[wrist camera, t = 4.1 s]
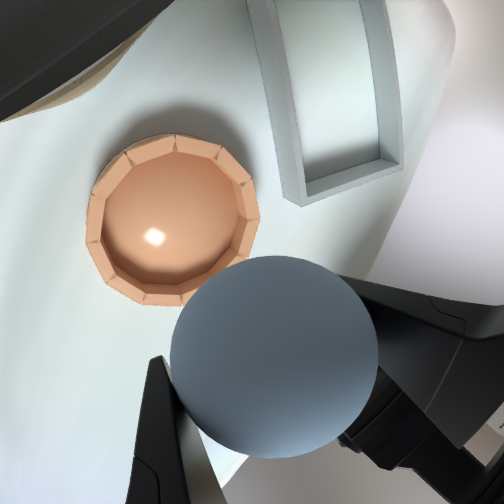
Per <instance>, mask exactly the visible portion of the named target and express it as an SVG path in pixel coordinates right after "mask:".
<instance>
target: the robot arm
mask: <svg viewBox="0 0 504 504" xmlns="http://www.w3.org/2000/svg"><path fill="white" fill-rule="evenodd" d="M336 275H337V274H336ZM337 276H339V277H340V278H341V279H342V280H343V281H345V282H346V283H347V284H348V285H349V286H350V287H351V288H352V289H353V290H354V291H355V293H356V294H357V295H358V296H359V298H360V299H361V301H362V302H363V304H364V306H365V307H366V309H367V311H368V313H369V315H370V317H371V320H372V322H373V325H374V328H375V332H376V337H377V342H378V368H377V375H376V380H375V383H374V386H373V389H372V392H371V395H370V397H369V399H368V401H367V403H366V404H365V406H364V408H363V410H362V411H361V413H360V414H359V416H358V417H357V418H356V419H355V420H354V421H353V423H352V424H351V425H350V426H349V427H348V428H347V429H346V430H345V431H344V432H343V433H342V434H340V435H339V436H338V437H336V438H337V440H338V443H339V444H340V445H341V446H342V447H348V448H350V449H351V450H353V451H354V452H356V453H361V452H363V453H364V454H366V455H367V456H368V457H369V458H370V459H371V460H372V461H373V462H374V463H375V464H376V465H377V466H378V467H379V468H382V469H386V470H390V471H391V470H393V469H394V468H401V469H408V470H413V471H414V472H416V473H417V474H418V475H419V476H420V477H421V478H422V479H423V480H424V481H425V482H426V483H427V484H429V485H430V486H431V487H432V488H433V489H434V490H435V491H436V492H437V493H438V494H439V495H441V496H442V497H443V498H444V499H445V500H446V501H447V502H449V503H450V504H504V443H503V445H502V446H501V447H500V449H499V450H498V451H497V453H496V454H495V455H494V457H493V458H492V459H491V461H490V462H489V463H488V464H487V466H486V467H485V466H484V465H483V464H482V463H481V462H480V461H478V460H477V459H476V458H475V457H474V456H473V455H472V454H471V453H470V452H469V451H468V450H466V448H465V447H464V446H463V445H464V444H465V443H466V442H467V441H468V440H469V439H470V438H471V437H472V436H473V435H474V434H475V433H476V432H477V431H478V430H479V429H480V428H481V427H482V426H483V425H484V424H485V423H487V424H488V425H489V426H490V427H491V428H493V429H494V430H495V431H496V432H497V433H498V434H501V435H502V436H503V437H504V305H499V306H492V305H483V304H476V303H468V302H461V301H455V300H449V299H444V298H439V297H434V296H430V295H428V296H426V295H425V294H421V293H416V292H412V291H407V290H403V289H398V288H394V287H390V286H385V285H381V284H377V283H372V282H368V281H363V280H359V279H355V278H350V277H346V276H341V275H337ZM134 456H135V457H133V463H132V470H131V477H130V484H129V488H128V493H127V498H126V502H125V504H227V501H226V499H225V497H224V495H223V492H222V490H221V488H220V485H219V483H218V480H217V478H216V476H215V473H214V471H213V468H212V466H211V463H210V460H209V458H208V455H207V453H206V450H205V447H204V445H203V442H202V439H201V436H200V434H199V431H198V428H197V425H196V424H195V423H194V422H193V421H192V419H191V418H190V417H189V415H188V414H187V413H186V411H185V409H184V408H183V406H182V404H181V402H180V400H179V398H178V396H177V393H176V390H175V387H174V383H173V380H172V376H171V368H170V367H169V365H168V363H167V362H166V360H165V359H164V357H163V356H162V355H160V356H157V357H155V358H152V359H151V360H150V361H149V366H148V371H147V376H146V381H145V386H144V392H143V398H142V403H141V409H140V415H139V421H138V428H137V434H136V441H135V448H134Z"/></svg>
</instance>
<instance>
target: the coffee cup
mask: <svg viewBox="0 0 504 504" xmlns="http://www.w3.org/2000/svg"><path fill="white" fill-rule="evenodd" d="M173 1H174V0H0V123H1V122H4V121H8V120H11V119H14V118H17V117H20V116H24V115H27V114H30V113H34V112H37V111H41V110H45V109H49V108H52V107H56V106H59V105H61V104H64V103H66V102H68V101H71V100H73V99H76V98H78V97H80V96H82V95H84V94H85V93H87V92H89V91H90V90H92V89H93V88H94V87H95V86H97V85H98V84H99V83H100V82H101V81H102V80H103V79H104V78H105V77H106V76H107V75H108V73H109V72H110V71H111V70H112V69H113V68H114V67H115V66H116V64H117V63H118V62H119V61H120V59H121V58H122V57H123V56H124V54H125V53H126V52H127V51H128V50H129V48H130V47H131V46H132V45H133V44H134V42H135V41H136V40H137V39H138V38H139V37H140V35H141V34H142V33H143V32H144V31H145V30H146V29H147V28H148V26H149V25H150V24H151V23H152V22H153V21H154V19H155V18H156V17H157V16H158V14H159V13H161V12H162V11H163V10H164V9H165V8H167V7H168V6H169V5H170V4H171V3H172V2H173Z"/></svg>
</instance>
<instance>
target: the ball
mask: <svg viewBox="0 0 504 504" xmlns="http://www.w3.org/2000/svg"><path fill="white" fill-rule="evenodd" d="M170 366H171V376H172V380H173V383H174V387H175V390H176V393H177V396H178V398H179V400H180V402H181V404H182V406H183V408H184V409H185V411H186V413H187V414H188V415H189V417H190V418H191V419H192V421H193V422H194V423H195V424H196V425H197V426H198V427H199V428H200V429H201V430H202V431H203V432H204V433H205V434H206V435H207V436H209V437H210V438H212V439H213V440H215V441H216V442H217V443H219V444H221V445H223V446H224V447H227V448H229V449H231V450H233V451H236V452H239V453H242V454H246V455H249V456H254V457H262V458H285V457H291V456H296V455H301V454H304V453H308V452H310V451H313V450H315V449H317V448H319V447H321V446H323V445H325V444H327V443H329V442H330V441H332V440H334V439H335V438H336V437H338V436H339V435H340V434H342V433H343V432H344V431H345V430H346V429H347V428H348V427H349V426H350V425H351V424H352V423H353V421H354V420H355V419H356V418H357V417H358V416H359V414H360V413H361V411H362V410H363V408H364V406H365V404H366V403H367V401H368V399H369V397H370V395H371V392H372V389H373V386H374V383H375V380H376V375H377V368H378V342H377V337H376V332H375V328H374V325H373V322H372V320H371V317H370V315H369V313H368V311H367V309H366V307H365V306H364V304H363V302H362V301H361V299H360V298H359V296H358V295H357V294H356V293H355V291H354V290H353V289H352V288H351V287H350V286H349V285H348V284H347V283H346V282H345V281H343V280H342V279H341V278H340V277H339V276H337V275H336V274H334V273H332V272H331V271H329V270H328V269H326V268H324V267H322V266H320V265H317V264H315V263H312V262H310V261H307V260H304V259H299V258H294V257H288V256H264V257H256V258H251V259H247V260H244V261H241V262H239V263H236V264H233V265H231V266H229V267H227V268H225V269H223V270H221V271H220V272H218V273H216V274H215V275H213V276H212V277H211V278H209V279H208V280H207V281H206V282H205V283H204V284H202V285H201V286H200V287H199V288H198V289H197V291H196V292H195V293H194V294H193V295H192V297H191V298H190V299H189V300H188V302H187V303H186V305H185V307H184V308H183V310H182V312H181V314H180V316H179V318H178V320H177V323H176V326H175V329H174V332H173V336H172V342H171V351H170Z"/></svg>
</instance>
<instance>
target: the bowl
mask: <svg viewBox="0 0 504 504" xmlns="http://www.w3.org/2000/svg"><path fill="white" fill-rule="evenodd" d="M259 218H260V214H259V209H258V204H257V199H256V194H255V188H254V183H253V179H252V178H251V176H250V175H249V174H248V173H247V171H246V170H245V169H244V168H243V167H242V166H241V165H240V164H239V163H238V162H237V161H236V160H235V159H234V158H233V157H232V155H231V154H230V153H229V152H228V151H227V150H226V149H225V148H224V147H222V146H221V145H217V144H214V143H210V142H207V141H205V140H202V139H199V138H196V137H193V136H188V135H181V134H164V135H156V136H152V137H149V138H145V139H143V140H140V141H138V142H136V143H134V144H132V145H130V146H129V147H127V148H125V149H124V150H122V151H121V152H120V153H119V154H117V155H116V156H115V157H114V158H113V159H112V160H111V161H110V162H109V163H108V164H107V165H106V167H105V168H104V170H103V171H102V172H101V174H100V175H99V177H98V179H97V181H96V183H95V185H94V187H93V190H92V192H91V195H90V199H89V204H88V209H87V222H86V225H87V230H86V240H85V242H86V246H87V248H88V250H89V252H90V255H91V257H92V259H93V261H94V263H95V265H96V267H97V269H98V271H99V273H100V275H101V277H102V278H103V280H104V282H106V284H107V285H109V286H110V287H112V288H113V289H115V290H117V291H118V292H120V293H122V294H123V295H125V296H127V297H128V298H130V299H132V300H133V301H135V302H137V303H138V304H141V303H142V305H155V306H181V305H183V306H184V305H186V303H187V302H188V300H189V299H190V298H191V297H192V295H193V294H194V293H195V292H196V291H197V289H198V288H199V287H200V286H201V285H202V284H204V283H205V282H206V281H207V280H208V279H209V278H211V277H212V276H213V275H215V274H216V273H218V272H220V271H221V270H223V269H225V268H227V267H229V266H231V265H233V264H236V263H239V262H241V261H244V260H247V258H246V257H248V258H249V254H250V251H251V248H252V245H253V241H254V238H255V235H256V232H257V228H258V225H259V222H260V219H259Z"/></svg>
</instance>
